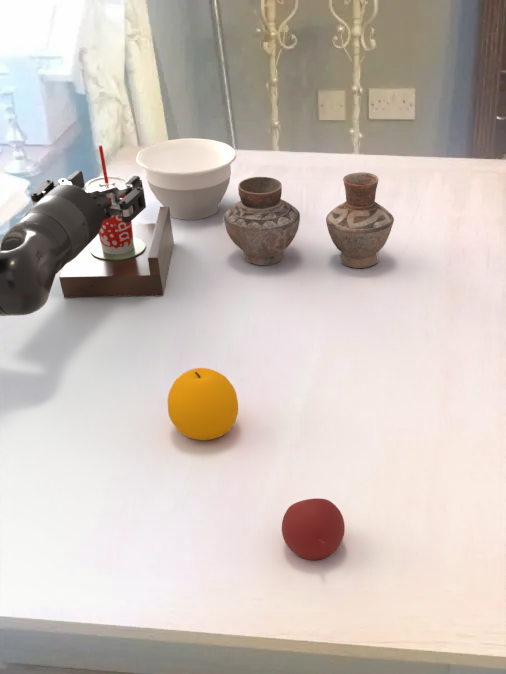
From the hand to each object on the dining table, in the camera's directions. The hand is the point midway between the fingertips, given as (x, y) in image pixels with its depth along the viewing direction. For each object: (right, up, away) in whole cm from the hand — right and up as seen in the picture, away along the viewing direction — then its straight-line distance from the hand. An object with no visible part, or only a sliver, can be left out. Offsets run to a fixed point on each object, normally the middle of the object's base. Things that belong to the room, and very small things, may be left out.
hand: (109, 180), depth 126 cm
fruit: (+30, -55, -37) cm, 73 cm away
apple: (+17, -39, -22) cm, 48 cm away
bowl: (+8, +6, +24) cm, 26 cm away
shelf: (0, -10, +8) cm, 12 cm away
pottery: (+28, -7, +10) cm, 30 cm away
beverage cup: (0, -7, +5) cm, 9 cm away
